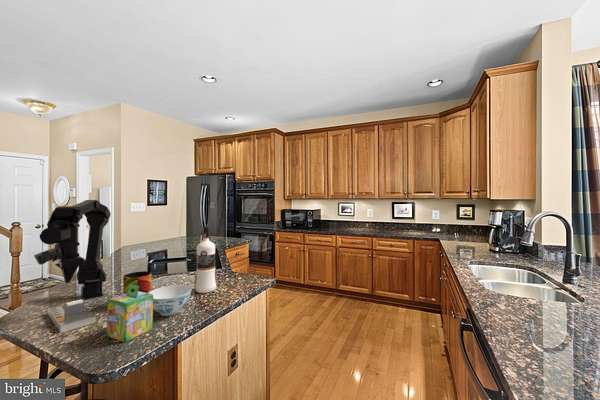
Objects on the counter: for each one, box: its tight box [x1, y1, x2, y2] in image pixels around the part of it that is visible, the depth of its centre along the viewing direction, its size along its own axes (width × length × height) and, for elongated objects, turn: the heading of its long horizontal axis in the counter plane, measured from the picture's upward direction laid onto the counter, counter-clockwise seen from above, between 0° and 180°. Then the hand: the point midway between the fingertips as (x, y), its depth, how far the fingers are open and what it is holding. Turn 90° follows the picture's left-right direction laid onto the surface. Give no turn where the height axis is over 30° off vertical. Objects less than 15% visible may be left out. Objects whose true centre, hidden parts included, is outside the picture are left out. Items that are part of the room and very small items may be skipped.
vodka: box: [194, 226, 217, 294], centre depth 120 cm, size 9×9×30 cm
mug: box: [122, 270, 152, 295], centre depth 106 cm, size 10×14×12 cm
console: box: [47, 304, 97, 333], centre depth 91 cm, size 9×22×4 cm, turn 52°
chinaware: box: [149, 284, 192, 317], centre depth 96 cm, size 15×15×8 cm
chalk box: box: [106, 285, 154, 343], centre depth 81 cm, size 9×9×15 cm
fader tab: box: [64, 298, 86, 319], centre depth 88 cm, size 5×3×5 cm, turn 142°
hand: (67, 282), depth 94 cm, fingers closed
